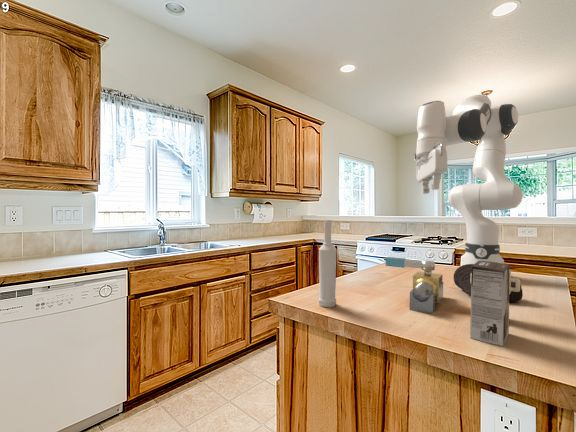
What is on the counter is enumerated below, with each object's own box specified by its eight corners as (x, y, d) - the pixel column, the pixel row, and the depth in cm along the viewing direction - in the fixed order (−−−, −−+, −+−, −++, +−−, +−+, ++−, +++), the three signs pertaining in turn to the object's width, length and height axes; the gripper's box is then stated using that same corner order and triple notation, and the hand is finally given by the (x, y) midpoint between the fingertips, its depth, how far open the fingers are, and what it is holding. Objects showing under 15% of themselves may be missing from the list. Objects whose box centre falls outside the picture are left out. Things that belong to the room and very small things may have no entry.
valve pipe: (421, 293, 103) (422, 264, 102) (445, 297, 99) (445, 266, 98) (407, 309, 86) (407, 275, 86) (434, 314, 82) (435, 278, 82)
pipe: (525, 280, 90) (500, 262, 104) (469, 281, 93) (453, 263, 107) (523, 311, 92) (499, 289, 106) (468, 310, 95) (452, 289, 109)
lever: (435, 269, 93) (435, 260, 92) (433, 271, 90) (433, 262, 90) (388, 264, 101) (388, 256, 100) (385, 266, 98) (385, 258, 97)
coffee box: (476, 326, 74) (478, 260, 74) (509, 333, 70) (511, 263, 69) (468, 338, 67) (470, 265, 67) (504, 347, 63) (506, 269, 62)
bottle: (338, 307, 88) (339, 220, 88) (321, 308, 87) (322, 220, 87) (332, 301, 93) (333, 219, 93) (316, 302, 92) (316, 219, 92)
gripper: (453, 140, 90) (453, 186, 90) (431, 157, 111) (430, 195, 110) (431, 140, 91) (430, 186, 91) (412, 157, 112) (412, 195, 111)
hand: (430, 191), depth 100 cm, fingers open, 8 cm apart
